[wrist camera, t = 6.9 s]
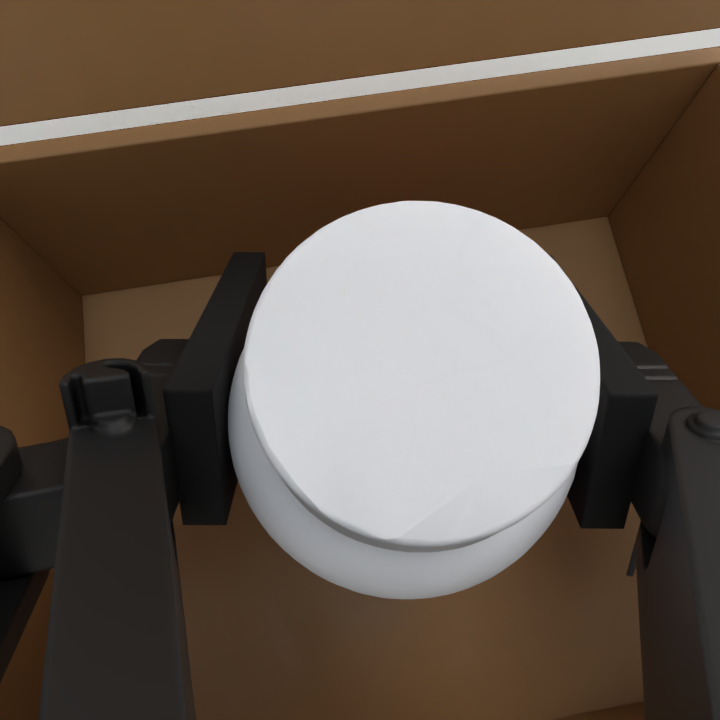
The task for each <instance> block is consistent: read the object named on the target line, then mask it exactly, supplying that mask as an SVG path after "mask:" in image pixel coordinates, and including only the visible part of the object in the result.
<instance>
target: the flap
mask: <svg viewBox="0 0 720 720" xmlns="http://www.w3.org/2000/svg"><path fill="white" fill-rule="evenodd" d="M715 28H720V0H0V126H7V125H15V124H22V123H29V122H37V121H44V120H51V119H59V118H66V117H73V116H80V115H88V114H95V113H102V112H110V111H117V110H124V109H132V108H139V107H146V106H153V105H161V104H168V103H175V102H183V101H190V100H197V99H204V98H212V97H219V96H226V95H234V94H241V93H248V92H256V91H263V90H270V89H277V88H285V87H292V86H299V85H307V84H314V83H321V82H329V81H336V80H343V79H350V78H358V77H365V76H372V75H380V74H387V73H394V72H402V71H409V70H416V69H423V68H431V67H438V66H445V65H453V64H460V63H467V62H474V61H482V60H489V59H496V58H504V57H511V56H518V55H526V54H533V53H540V52H547V51H555V50H562V49H569V48H577V47H584V46H591V45H599V44H606V43H613V42H620V41H628V40H635V39H642V38H650V37H657V36H664V35H671V34H679V33H686V32H693V31H701V30H708V29H715Z"/></svg>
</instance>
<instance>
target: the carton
mask: <svg viewBox="0 0 720 720" xmlns="http://www.w3.org/2000/svg"><path fill="white" fill-rule="evenodd" d="M399 201H435V202H442V203H449V204H455V205H459V206H463V207H467V208H470V209H474V210H477V211H480V212H483V213H485V214H488V215H490V216H493V217H495V218H497V219H499V220H501V221H503V222H505V223H507V224H509V225H511V226H512V227H514V228H516V229H517V230H518V231H520V232H521V233H523V234H524V235H526V236H527V237H528V238H530V239H531V240H533V241H534V242H535V243H536V244H538V245H539V246H540V247H541V248H542V249H543V250H544V251H545V252H546V253H547V254H548V255H552V256H553V258H554V259H555V260H556V261H557V263H558V264H559V265H560V267H561V268H562V269H563V271H564V272H565V273H566V275H567V276H568V277H569V279H570V280H571V281H572V282H573V284H574V285H575V286H576V288H577V289H578V290H579V292H580V293H581V294H582V296H583V297H584V298H585V299H586V301H587V302H588V303H589V305H590V306H591V307H592V309H593V310H594V311H595V313H596V314H597V315H598V316H599V318H600V319H601V320H602V322H603V323H604V324H605V326H606V327H607V328H608V330H609V331H610V332H611V333H612V335H613V336H614V337H615V339H616V340H617V341H618V342H639V343H640V344H642V345H644V346H646V347H647V348H649V349H651V350H652V351H654V352H656V353H657V354H658V355H659V356H660V357H661V358H662V359H663V361H664V362H665V363H666V364H667V365H668V366H669V369H671V370H672V371H673V372H674V373H675V375H676V376H677V377H678V380H680V381H681V382H682V383H683V384H684V385H685V386H686V388H687V389H688V390H689V391H690V392H691V393H692V395H693V396H694V397H695V398H696V399H697V400H698V402H699V403H700V404H701V405H702V406H703V407H708V408H712V409H716V410H720V46H719V47H711V48H704V49H697V50H690V51H683V52H675V53H668V54H661V55H654V56H646V57H639V58H632V59H625V60H618V61H610V62H603V63H596V64H589V65H581V66H574V67H567V68H560V69H553V70H545V71H538V72H531V73H524V74H516V75H509V76H502V77H495V78H488V79H480V80H473V81H466V82H459V83H451V84H444V85H437V86H430V87H423V88H415V89H408V90H401V91H394V92H387V93H379V94H372V95H365V96H358V97H350V98H343V99H336V100H329V101H322V102H314V103H307V104H300V105H293V106H285V107H278V108H271V109H264V110H257V111H249V112H242V113H235V114H228V115H220V116H213V117H206V118H199V119H192V120H184V121H177V122H170V123H163V124H156V125H148V126H141V127H134V128H127V129H119V130H112V131H105V132H98V133H91V134H83V135H76V136H69V137H62V138H54V139H47V140H40V141H33V142H26V143H18V144H11V145H4V146H0V426H3V427H5V428H7V429H9V430H11V431H12V433H13V434H14V436H15V438H16V442H17V445H18V448H19V447H25V446H30V445H36V444H42V443H48V442H52V441H57V440H61V439H65V438H67V437H69V426H68V422H67V418H66V413H65V409H64V405H63V401H62V396H61V392H60V388H59V383H60V381H61V379H62V377H63V376H64V375H65V374H67V373H68V372H69V371H71V370H72V369H74V368H76V367H78V366H81V365H83V364H86V363H88V362H93V361H97V360H102V359H112V358H124V359H131V360H137V359H138V357H139V355H140V354H141V352H142V351H143V350H144V349H145V348H147V347H148V346H150V345H151V344H153V343H154V342H156V341H158V340H159V339H189V338H190V336H191V334H192V332H193V330H194V328H195V326H196V324H197V323H198V321H199V319H200V317H201V315H202V313H203V311H204V309H205V307H206V305H207V303H208V301H209V299H210V297H211V295H212V293H213V291H214V290H215V288H216V286H217V284H218V282H219V280H220V278H221V276H222V274H223V272H224V270H225V268H226V266H227V264H228V262H229V260H230V258H231V256H232V255H233V253H234V252H265V258H266V275H267V284H268V282H269V280H270V279H271V277H272V276H273V274H274V273H275V271H276V270H277V268H278V267H279V266H280V265H281V264H282V263H283V261H284V260H285V259H286V257H287V256H288V255H289V254H290V253H291V252H293V251H294V250H295V248H296V247H297V246H298V245H300V244H301V243H302V242H304V241H305V240H306V239H307V238H309V237H310V236H311V235H313V234H314V233H315V232H317V231H318V230H319V229H321V228H322V227H324V226H326V225H328V224H330V223H332V222H333V221H335V220H337V219H339V218H341V217H343V216H346V215H348V214H351V213H353V212H356V211H359V210H362V209H365V208H369V207H372V206H376V205H381V204H387V203H395V202H399ZM640 522H641V519H640V517H639V516H638V514H637V512H636V510H635V508H634V506H633V504H632V503H631V504H630V507H629V511H628V515H627V519H626V523H625V527H624V529H582V528H580V526H579V523H578V521H577V519H576V516H575V514H574V511H573V509H572V507H571V504H570V502H569V499H568V497H567V496H566V499H565V501H564V503H563V505H562V507H561V509H560V510H559V512H558V514H557V515H556V517H555V519H554V520H553V521H552V523H551V524H550V526H549V527H548V528H547V530H546V531H545V532H544V533H543V535H542V536H541V537H540V538H539V539H538V540H537V541H536V543H535V544H534V545H533V546H532V547H531V548H530V549H529V550H528V551H527V552H526V553H525V554H524V555H523V556H522V557H520V558H519V559H518V560H517V561H515V562H514V563H513V564H511V565H510V566H508V567H507V568H506V569H504V570H503V571H501V572H500V573H498V574H497V575H495V576H494V577H492V578H490V579H488V580H486V581H484V582H482V583H480V584H477V585H475V586H473V587H470V588H468V589H465V590H462V591H459V592H456V593H453V594H449V595H444V596H439V597H433V598H423V599H385V598H380V597H375V596H370V595H365V594H361V593H357V592H354V591H351V590H349V589H346V588H344V587H341V586H339V585H336V584H334V583H331V582H329V581H327V580H325V579H323V578H321V577H320V576H318V575H316V574H314V573H313V572H311V571H310V570H308V569H307V568H305V567H304V566H303V565H301V564H300V563H299V562H297V561H296V560H295V559H293V558H292V557H291V556H290V555H289V554H288V553H286V552H285V551H284V550H283V549H282V548H281V547H280V546H279V545H278V544H277V543H276V542H275V541H274V540H273V539H272V538H271V536H270V535H269V534H268V533H267V531H266V530H265V529H264V527H263V526H262V525H261V523H260V522H259V520H258V519H257V517H256V516H255V514H254V513H253V511H252V509H251V508H250V506H249V504H248V502H247V500H246V498H245V496H244V493H243V491H242V489H241V487H240V485H239V482H237V486H236V490H235V493H234V497H233V501H232V505H231V509H230V513H229V517H228V521H227V524H226V525H183V523H182V516H181V510H180V503H178V506H177V509H176V511H175V514H174V517H173V525H174V532H175V538H176V546H177V555H178V564H179V573H180V582H181V591H182V600H183V608H184V617H185V626H186V635H187V644H188V653H189V661H190V670H191V679H192V688H193V697H194V706H195V714H196V720H645V716H644V698H643V679H642V661H641V643H640V625H639V607H638V589H637V571H636V569H635V572H634V575H633V577H631V576H627V575H626V573H627V570H628V566H629V562H630V559H631V555H632V551H633V548H634V544H635V540H636V537H637V533H638V529H639V526H640ZM53 577H54V568H51V569H50V572H49V576H48V578H47V580H46V582H45V585H44V587H43V589H42V591H41V594H40V596H39V598H38V600H37V603H36V605H35V607H34V609H33V612H32V614H31V616H30V618H29V620H28V623H27V625H26V627H25V629H24V632H23V634H22V636H21V638H20V641H19V643H18V645H17V647H16V649H15V652H14V654H13V656H12V658H11V661H10V663H9V665H8V667H7V670H6V672H5V674H4V676H3V679H2V681H1V683H0V720H38V717H39V708H40V699H41V689H42V680H43V671H44V661H45V652H46V643H47V633H48V624H49V615H50V605H51V596H52V587H53Z"/></svg>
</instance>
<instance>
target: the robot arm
mask: <svg viewBox="0 0 720 720" xmlns="http://www.w3.org/2000/svg"><path fill="white" fill-rule="evenodd" d="M549 256H550V257H551V258H552V259H553V260H554V261H555V262H556V263H557V261H556V260H555V259H554V258H553V256H552V255H549ZM557 264H558V263H557ZM558 265H559V264H558ZM559 267H560V265H559ZM560 268H561V267H560ZM561 269H562V268H561ZM562 270H563V269H562ZM563 272H564V271H563ZM564 273H565V272H564ZM565 274H566V273H565ZM566 276H567V275H566ZM567 277H568V276H567ZM568 278H569V277H568ZM569 280H570V279H569ZM570 281H571V280H570ZM571 282H572V281H571ZM572 284H573V282H572ZM266 285H267V275H266V258H265V252H234V253H233V255H232V256H231V258H230V260H229V262H228V264H227V266H226V268H225V270H224V272H223V274H222V276H221V278H220V280H219V282H218V284H217V286H216V288H215V290H214V291H213V293H212V295H211V297H210V299H209V301H208V303H207V305H206V307H205V309H204V311H203V313H202V315H201V317H200V319H199V321H198V323H197V324H196V326H195V328H194V330H193V332H192V334H191V336H190V338H189V339H159V340H158V341H156V342H154V343H153V344H151V345H150V346H148V347H147V348H145V349H144V350H143V351H142V352H141V354H140V355H139V357H138V359H137V360H131V359H124V358H112V359H102V360H97V361H93V362H88V363H86V364H83V365H81V366H78V367H76V368H74V369H72V370H71V371H69V372H68V373H67V374H65V375H64V376H63V377H62V379H61V381H60V383H59V388H60V392H61V396H62V401H63V405H64V409H65V413H66V418H67V422H68V426H69V437H67V438H65V439H61V440H57V441H52V442H48V443H42V444H36V445H30V446H25V447H19V448H18V445H17V442H16V438H15V436H14V434H13V433H12V431H11V430H9V429H7V428H5V427H3V426H0V683H1V681H2V679H3V676H4V674H5V672H6V670H7V667H8V665H9V663H10V661H11V658H12V656H13V654H14V652H15V649H16V647H17V645H18V643H19V641H20V638H21V636H22V634H23V632H24V629H25V627H26V625H27V623H28V620H29V618H30V616H31V614H32V612H33V609H34V607H35V605H36V603H37V600H38V598H39V596H40V594H41V591H42V589H43V587H44V585H45V582H46V580H47V578H48V576H49V572H50V569H51V568H54V577H53V587H52V596H51V605H50V615H49V624H48V633H47V643H46V652H45V661H44V671H43V680H42V689H41V699H40V708H39V717H38V720H196V714H195V706H194V697H193V688H192V679H191V670H190V661H189V653H188V644H187V635H186V626H185V617H184V608H183V600H182V591H181V582H180V573H179V564H178V555H177V546H176V538H175V532H174V525H173V517H174V514H175V511H176V509H177V506H178V503H180V510H181V516H182V523H183V525H226V524H227V521H228V517H229V513H230V509H231V505H232V501H233V497H234V493H235V490H236V486H237V482H238V479H237V476H236V472H235V469H234V466H233V461H232V456H231V452H230V446H229V437H228V405H229V397H230V391H231V385H232V381H233V377H234V373H235V370H236V367H237V364H238V361H239V358H240V356H241V353H242V351H243V349H244V347H245V340H246V335H247V331H248V327H249V324H250V321H251V318H252V315H253V312H254V309H255V307H256V305H257V302H258V300H259V298H260V296H261V294H262V292H263V290H264V288H265V287H266ZM573 285H574V284H573ZM574 287H575V289H576V291H577V292H578V294H579V296H580V298H581V300H582V302H583V305H584V307H585V309H586V311H587V314H588V316H589V318H590V321H591V323H592V327H593V330H594V334H595V337H596V341H597V346H598V352H599V360H600V393H599V404H598V410H597V415H596V419H595V423H594V426H593V430H592V433H591V435H590V438H589V441H588V444H587V446H586V448H585V450H584V452H583V454H582V456H581V458H580V460H579V461H578V465H577V468H576V472H575V476H574V480H573V482H572V485H571V487H570V489H569V492H568V494H567V497H568V499H569V502H570V504H571V507H572V509H573V511H574V514H575V516H576V519H577V521H578V523H579V526H580V528H582V529H624V527H625V523H626V519H627V515H628V511H629V507H630V504H631V503H632V504H633V506H634V508H635V510H636V512H637V514H638V516H639V517H640V519H641V522H640V526H639V529H638V533H637V537H636V540H635V544H634V548H633V551H632V555H631V559H630V562H629V566H628V570H627V573H626V575H627V576H631V577H633V575H634V572H635V569H636V571H637V589H638V607H639V625H640V643H641V661H642V679H643V698H644V716H645V720H720V410H716V409H712V408H708V407H703V406H702V405H701V404H700V403H699V402H698V400H697V399H696V398H695V397H694V396H693V395H692V393H691V392H690V391H689V390H688V389H687V388H686V386H685V385H684V384H683V383H682V382H681V381H680V380H678V377H677V376H676V375H675V373H674V372H673V371H672V370H671V369H669V366H668V365H667V364H666V363H665V362H664V361H663V359H662V358H661V357H660V356H659V355H658V354H657V353H656V352H654V351H652V350H651V349H649V348H647V347H646V346H644V345H642V344H640V343H639V342H618V341H617V340H616V339H615V337H614V336H613V335H612V333H611V332H610V331H609V330H608V328H607V327H606V326H605V324H604V323H603V322H602V320H601V319H600V318H599V316H598V315H597V314H596V313H595V311H594V310H593V309H592V307H591V306H590V305H589V303H588V302H587V301H586V299H585V298H584V297H583V296H582V294H581V293H580V292H579V290H578V289H577V288H576V286H575V285H574Z"/></svg>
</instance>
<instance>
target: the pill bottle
mask: <svg viewBox="0 0 720 720" xmlns="http://www.w3.org/2000/svg"><path fill="white" fill-rule="evenodd" d="M599 393H600V360H599V352H598V346H597V341H596V337H595V334H594V330H593V327H592V323H591V321H590V318H589V316H588V314H587V311H586V309H585V307H584V305H583V302H582V300H581V298H580V296H579V294H578V292H577V291H576V289H575V287H574V285H573V284H572V282H571V281H570V280H569V278H568V277H567V276H566V274H565V273H564V272H563V270H562V269H561V268H560V267H559V265H558V264H557V263H556V262H555V261H554V260H553V259H552V258H551V257H550V256H549V255H548V254H547V253H546V252H545V251H544V250H543V249H542V248H541V247H540V246H539V245H538V244H536V243H535V242H534V241H533V240H531V239H530V238H528V237H527V236H526V235H524V234H523V233H521V232H520V231H518V230H517V229H516V228H514V227H512V226H511V225H509V224H507V223H505V222H503V221H501V220H499V219H497V218H495V217H493V216H490V215H488V214H485V213H483V212H480V211H477V210H474V209H470V208H467V207H463V206H459V205H455V204H449V203H442V202H435V201H399V202H395V203H387V204H381V205H376V206H372V207H369V208H365V209H362V210H359V211H356V212H353V213H351V214H348V215H346V216H343V217H341V218H339V219H337V220H335V221H333V222H332V223H330V224H328V225H326V226H324V227H322V228H321V229H319V230H318V231H317V232H315V233H314V234H313V235H311V236H310V237H309V238H307V239H306V240H305V241H304V242H302V243H301V244H300V245H298V246H297V247H296V248H295V250H294V251H293V252H291V253H290V254H289V255H288V256H287V257H286V259H285V260H284V261H283V263H282V264H281V265H280V266H279V267H278V268H277V270H276V271H275V273H274V274H273V276H272V277H271V279H270V280H269V282H268V284H267V285H266V287H265V288H264V290H263V292H262V294H261V296H260V298H259V300H258V302H257V305H256V307H255V309H254V312H253V315H252V318H251V321H250V324H249V327H248V331H247V335H246V340H245V347H244V349H243V351H242V353H241V356H240V358H239V361H238V364H237V367H236V370H235V373H234V377H233V381H232V385H231V391H230V397H229V405H228V437H229V446H230V452H231V456H232V461H233V466H234V469H235V472H236V476H237V479H238V482H239V485H240V487H241V489H242V491H243V493H244V496H245V498H246V500H247V502H248V504H249V506H250V508H251V509H252V511H253V513H254V514H255V516H256V517H257V519H258V520H259V522H260V523H261V525H262V526H263V527H264V529H265V530H266V531H267V533H268V534H269V535H270V536H271V538H272V539H273V540H274V541H275V542H276V543H277V544H278V545H279V546H280V547H281V548H282V549H283V550H284V551H285V552H286V553H288V554H289V555H290V556H291V557H292V558H293V559H295V560H296V561H297V562H299V563H300V564H301V565H303V566H304V567H305V568H307V569H308V570H310V571H311V572H313V573H314V574H316V575H318V576H320V577H321V578H323V579H325V580H327V581H329V582H331V583H334V584H336V585H339V586H341V587H344V588H346V589H349V590H351V591H354V592H357V593H361V594H365V595H370V596H375V597H380V598H385V599H423V598H433V597H439V596H444V595H449V594H453V593H456V592H459V591H462V590H465V589H468V588H470V587H473V586H475V585H477V584H480V583H482V582H484V581H486V580H488V579H490V578H492V577H494V576H495V575H497V574H498V573H500V572H501V571H503V570H504V569H506V568H507V567H508V566H510V565H511V564H513V563H514V562H515V561H517V560H518V559H519V558H520V557H522V556H523V555H524V554H525V553H526V552H527V551H528V550H529V549H530V548H531V547H532V546H533V545H534V544H535V543H536V541H537V540H538V539H539V538H540V537H541V536H542V535H543V533H544V532H545V531H546V530H547V528H548V527H549V526H550V524H551V523H552V521H553V520H554V519H555V517H556V515H557V514H558V512H559V510H560V509H561V507H562V505H563V503H564V501H565V499H566V496H567V494H568V492H569V489H570V487H571V485H572V482H573V480H574V476H575V472H576V468H577V465H578V461H579V460H580V458H581V456H582V454H583V452H584V450H585V448H586V446H587V444H588V441H589V438H590V435H591V433H592V430H593V426H594V423H595V419H596V415H597V410H598V404H599Z"/></svg>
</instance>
